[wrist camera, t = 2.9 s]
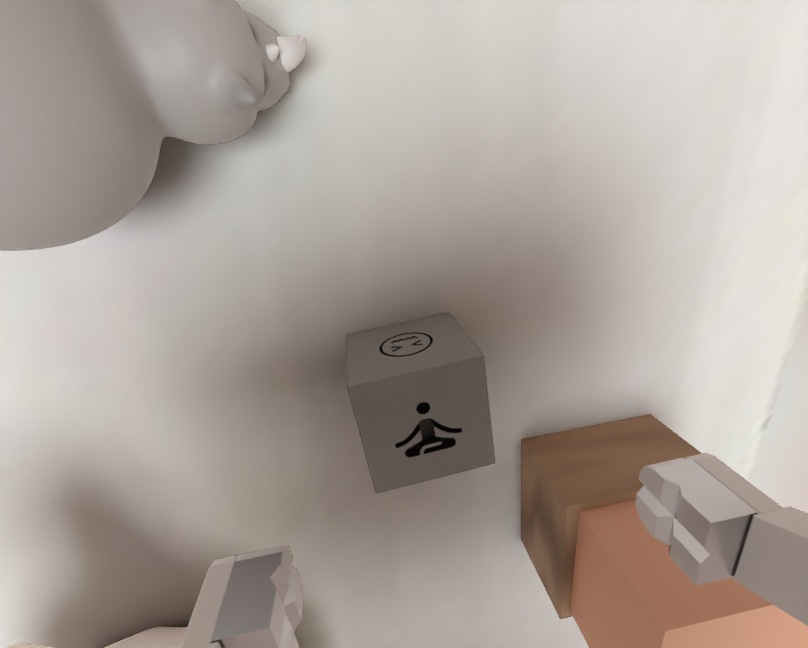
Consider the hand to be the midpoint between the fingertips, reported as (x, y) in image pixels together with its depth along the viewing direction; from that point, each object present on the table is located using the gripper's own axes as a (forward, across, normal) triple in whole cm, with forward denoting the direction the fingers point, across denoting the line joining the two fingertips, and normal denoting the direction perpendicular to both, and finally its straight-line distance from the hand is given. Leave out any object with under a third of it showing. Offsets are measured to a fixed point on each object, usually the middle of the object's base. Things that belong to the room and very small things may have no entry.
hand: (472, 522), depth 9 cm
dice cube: (+11, 0, -2) cm, 11 cm away
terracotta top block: (+6, +10, -12) cm, 16 cm away
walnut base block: (+11, +10, -12) cm, 18 cm away
